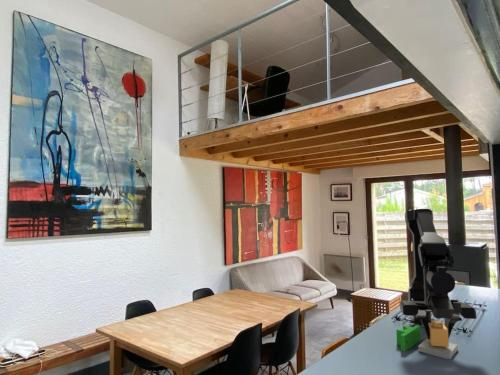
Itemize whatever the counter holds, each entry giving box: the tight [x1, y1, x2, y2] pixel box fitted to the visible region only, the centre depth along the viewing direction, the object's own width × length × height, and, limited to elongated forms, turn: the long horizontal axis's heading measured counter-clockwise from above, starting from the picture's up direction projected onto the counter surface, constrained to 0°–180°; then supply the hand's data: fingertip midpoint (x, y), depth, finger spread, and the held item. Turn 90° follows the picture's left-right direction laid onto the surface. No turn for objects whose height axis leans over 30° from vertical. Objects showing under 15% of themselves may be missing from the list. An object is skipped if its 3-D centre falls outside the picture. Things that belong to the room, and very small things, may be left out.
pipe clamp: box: [395, 324, 422, 352], centre depth 103 cm, size 11×4×5 cm, turn 132°
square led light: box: [428, 320, 450, 347], centre depth 98 cm, size 4×4×6 cm
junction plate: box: [418, 337, 459, 360], centre depth 98 cm, size 9×8×5 cm
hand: (437, 339), depth 98 cm, fingers closed on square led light, 4 cm apart
